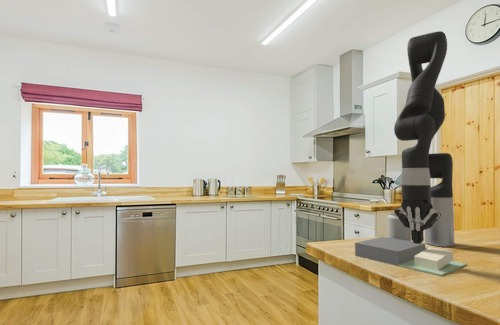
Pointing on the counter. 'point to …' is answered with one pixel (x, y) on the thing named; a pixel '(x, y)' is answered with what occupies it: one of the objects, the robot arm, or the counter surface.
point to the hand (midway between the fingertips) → (417, 243)
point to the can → (397, 228)
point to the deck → (388, 250)
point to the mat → (444, 270)
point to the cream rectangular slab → (433, 258)
